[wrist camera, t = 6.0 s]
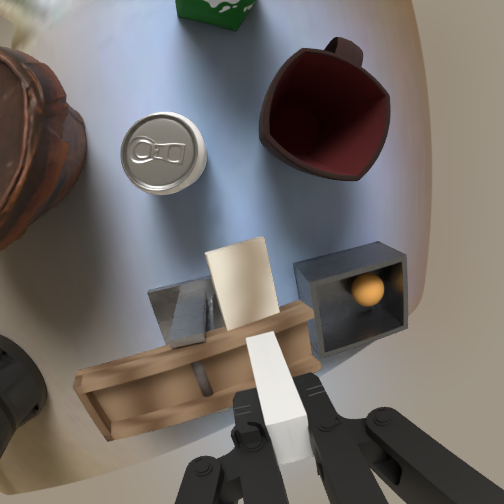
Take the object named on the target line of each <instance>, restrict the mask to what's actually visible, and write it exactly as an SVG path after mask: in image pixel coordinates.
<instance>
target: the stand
mask: <svg viewBox="0 0 504 504" xmlns="http://www.w3.org/2000/svg"><path fill="white" fill-rule="evenodd" d="M148 296H149V299H150V302H151V304H152V307H153V310H154V313H155V316H156V319H157V321H158V324H159V327H160V329H161V332H162V335H163V337H164V340H165V343H166V345H169V344H170V347H171V348H175V347H180V346H185V345H190V344H195V343H199V342H204V341H205V333H206V332H209V331H213V330H215V329H218V328H221V327H224V322H223V319H222V315H221V312H220V308H219V305H218V301H217V297H216V294H215V290H214V287H213V283H212V279H211V276H207V277H203V278H199V279H195V280H191V281H186V282H182V283H178V284H174V285H169V286H165V287H161V288H157V289H152V290H149V291H148ZM228 410H229V407H228V408H225V409H223V410H220V411H217V412H214V413H218V412H223V411H228ZM211 414H213V413H211Z"/></svg>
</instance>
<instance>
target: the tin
mask: <svg viewBox="0 0 504 504" xmlns="http://www.w3.org/2000/svg"><path fill="white" fill-rule="evenodd" d="M293 266H294V271H295V277H296V283H297V288H298V294H299V300H300V301H302V302H303V303H305V304H306V305H307V306H309V307H310V308H312V309H313V310H314V317H315V318H312V319H310V320H307V325H308V331H309V338H310V341H311V343H312V345H313V347H314V348H315V350H316V352H317V354H318V355H319V357H320V358H324V357H327V356H330V355H333V354H337V353H340V352H343V351H346V350H349V349H352V348H355V347H358V346H361V345H364V344H367V343H370V342H372V341H375V340H378V339H381V338H383V337H386V336H389V335H392V334H394V333H397V332H399V331H402V330H405V329H407V328H408V282H407V258H406V254H403V253H401V252H399V251H397V250H395V249H393V248H391V247H389V246H387V245H385V244H383V243H381V242H379V241H378V242H374V243H370V244H367V245H363V246H359V247H355V248H351V249H348V250H344V251H340V252H336V253H332V254H328V255H324V256H320V257H316V258H313V259H309V260H305V261H301V262H297V263H293ZM363 273H373V274H375V275H377V276H378V277H379V278H380V279H381V280H382V282H383V284H384V294H383V297H382V299H381V300H380V301H379V302H378V303H377V304H375V305H373V306H362V305H360V304H358V303H357V302H356V301H355V300H354V298H353V296H352V292H351V288H352V284H353V282H354V280H355V279H356V278H357V277H358V276H359V275H361V274H363Z"/></svg>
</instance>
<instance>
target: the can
mask: <svg viewBox="0 0 504 504" xmlns="http://www.w3.org/2000/svg"><path fill="white" fill-rule="evenodd" d="M121 162H122V166H123V169H124V171H125V173H126V175H127V177H128V178H129V180H130V181H131V182H132V183H133V184H134V185H135V186H136V187H137V188H139V189H140V190H142V191H144V192H147V193H150V194H154V195H168V194H173V193H176V192H178V191H181V190H183V189H184V188H186V187H188V186H189V185H191V184H192V183H194V182H195V181H196V180H197V179H198V178H199V177H200V176H201V175H202V173H203V171H204V169H205V167H206V163H207V151H206V147H205V143H204V141H203V138H202V135H201V133H200V132H199V130H198V129H197V127H196V126H195V125H194V124H193V123H192V122H191V121H190V120H189V119H187V118H186V117H184V116H182V115H179V114H177V113H172V112H157V113H153V114H150V115H148V116H146V117H144V118H142V119H140V120H139V121H137V122H136V123H135V124H134V125H133V126H132V127H131V128H130V129H129V130H128V132H127V133H126V135H125V137H124V140H123V142H122V146H121Z"/></svg>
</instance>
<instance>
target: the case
mask: <svg viewBox="0 0 504 504" xmlns="http://www.w3.org/2000/svg"><path fill="white" fill-rule="evenodd" d="M85 153H86V137H85V131H84V122H83V119H82V117H81V115H80V114H79V113H78V112H77V111H75V110H74V109H73V108H72V107H70V106H69V104H68V103H67V102H66V93H65V91H64V89H63V87H62V85H61V84H60V82H59V80H58V78H57V77H56V75H55V74H54V72H53V71H52V70H51V69H50V68H49V67H48V66H47V65H46V64H44V63H41V62H39V61H38V60H36V59H35V58H33V57H32V56H30V55H28V54H26V53H24V52H21V51H18V50H15V49H11V48H7V47H0V251H1V250H3V249H5V248H6V247H7V246H8V245H9V244H11V243H12V242H14V241H15V240H18V239H19V238H20V237H21V236H22V235H23V234H24V233H25V231H26V229H27V227H28V226H29V225H30V224H31V223H33V222H34V221H35V220H37V219H38V218H39V217H40V216H41V215H43V214H44V213H45V212H46V211H48V210H49V209H50V208H51V207H53V206H54V205H55V204H57V203H58V202H59V201H60V200H62V199H63V198H64V197H65V196H66V195H67V194H68V193H69V192H70V191H71V189H72V188H73V186H74V185H75V183H76V182H77V180H78V178H79V175H80V173H81V171H82V167H83V163H84V159H85Z"/></svg>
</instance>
